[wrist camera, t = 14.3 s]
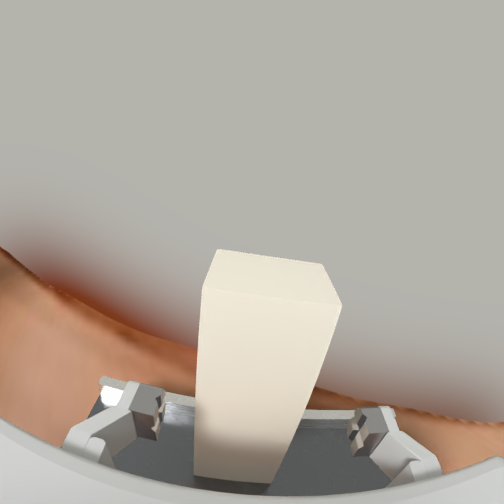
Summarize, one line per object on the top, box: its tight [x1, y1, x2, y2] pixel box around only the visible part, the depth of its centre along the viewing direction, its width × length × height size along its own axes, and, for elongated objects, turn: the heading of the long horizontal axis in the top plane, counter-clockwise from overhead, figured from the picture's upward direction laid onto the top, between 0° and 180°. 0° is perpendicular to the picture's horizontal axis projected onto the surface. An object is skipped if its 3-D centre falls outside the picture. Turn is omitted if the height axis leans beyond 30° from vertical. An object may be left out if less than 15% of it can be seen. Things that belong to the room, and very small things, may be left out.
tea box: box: [194, 249, 342, 483], centre depth 15 cm, size 4×5×14 cm
